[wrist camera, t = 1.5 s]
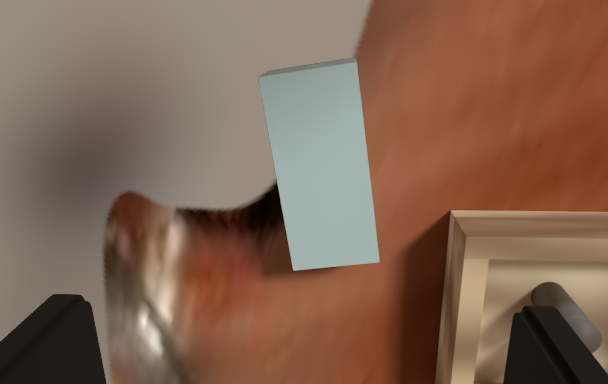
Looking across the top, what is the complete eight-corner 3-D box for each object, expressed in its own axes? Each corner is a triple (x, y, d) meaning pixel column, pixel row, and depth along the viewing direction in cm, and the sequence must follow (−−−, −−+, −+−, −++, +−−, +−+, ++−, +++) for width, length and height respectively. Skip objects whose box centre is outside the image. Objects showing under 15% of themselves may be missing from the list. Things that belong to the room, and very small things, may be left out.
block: (269, 70, 24) (258, 77, 21) (354, 57, 24) (356, 61, 21) (299, 242, 28) (293, 270, 24) (375, 233, 27) (379, 262, 24)
